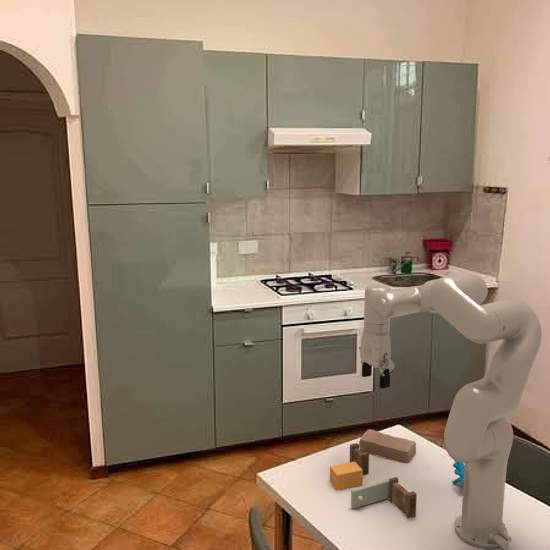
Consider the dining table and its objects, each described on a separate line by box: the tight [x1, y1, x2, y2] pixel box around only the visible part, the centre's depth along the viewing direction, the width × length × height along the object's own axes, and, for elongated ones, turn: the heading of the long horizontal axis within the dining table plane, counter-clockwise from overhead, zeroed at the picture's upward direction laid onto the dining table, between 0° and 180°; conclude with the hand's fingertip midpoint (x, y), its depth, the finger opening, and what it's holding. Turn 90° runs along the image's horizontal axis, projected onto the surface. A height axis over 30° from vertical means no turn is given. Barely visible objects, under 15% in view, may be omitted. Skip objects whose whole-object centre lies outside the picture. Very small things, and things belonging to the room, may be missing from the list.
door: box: [350, 478, 390, 509], centre depth 157 cm, size 13×2×5 cm, turn 115°
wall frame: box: [349, 442, 418, 519], centre depth 164 cm, size 30×2×6 cm, turn 23°
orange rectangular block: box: [329, 461, 364, 492], centre depth 167 cm, size 5×8×5 cm, turn 109°
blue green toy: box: [451, 460, 465, 485], centre depth 166 cm, size 11×6×10 cm
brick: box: [358, 429, 417, 464], centre depth 185 cm, size 17×8×5 cm, turn 60°
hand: (375, 381), depth 174 cm, fingers open, 9 cm apart
